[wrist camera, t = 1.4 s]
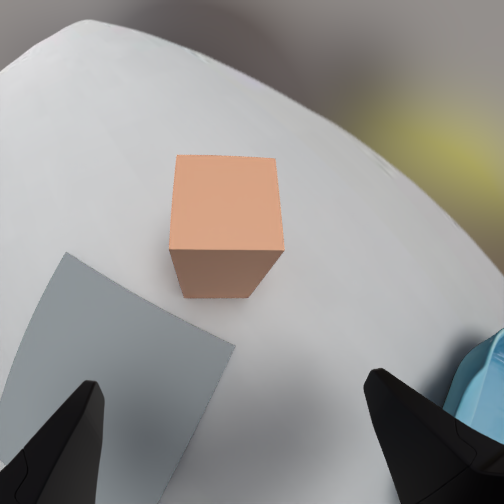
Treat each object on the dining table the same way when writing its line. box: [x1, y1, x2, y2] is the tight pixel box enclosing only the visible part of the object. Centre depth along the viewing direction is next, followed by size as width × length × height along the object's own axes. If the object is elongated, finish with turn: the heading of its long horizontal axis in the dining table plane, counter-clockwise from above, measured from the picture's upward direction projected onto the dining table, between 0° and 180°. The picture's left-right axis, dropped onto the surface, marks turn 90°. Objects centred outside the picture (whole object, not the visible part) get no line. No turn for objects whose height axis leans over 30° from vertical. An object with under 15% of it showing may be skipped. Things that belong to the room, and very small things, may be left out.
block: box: [169, 155, 285, 298], centre depth 19 cm, size 5×5×11 cm
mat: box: [0, 252, 235, 504], centre depth 17 cm, size 22×16×1 cm
